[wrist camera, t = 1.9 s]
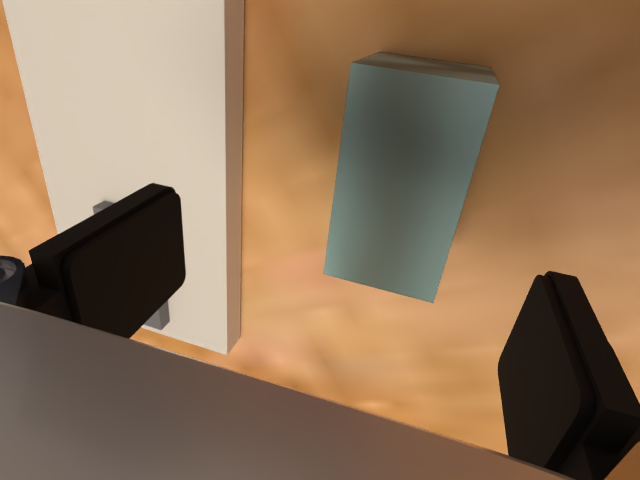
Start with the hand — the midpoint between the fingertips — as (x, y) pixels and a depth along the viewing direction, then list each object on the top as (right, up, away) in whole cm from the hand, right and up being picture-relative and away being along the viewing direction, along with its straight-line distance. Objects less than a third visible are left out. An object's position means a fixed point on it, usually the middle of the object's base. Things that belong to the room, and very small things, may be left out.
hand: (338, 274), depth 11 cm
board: (-11, +6, +16) cm, 20 cm away
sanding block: (+4, +5, +10) cm, 12 cm away
